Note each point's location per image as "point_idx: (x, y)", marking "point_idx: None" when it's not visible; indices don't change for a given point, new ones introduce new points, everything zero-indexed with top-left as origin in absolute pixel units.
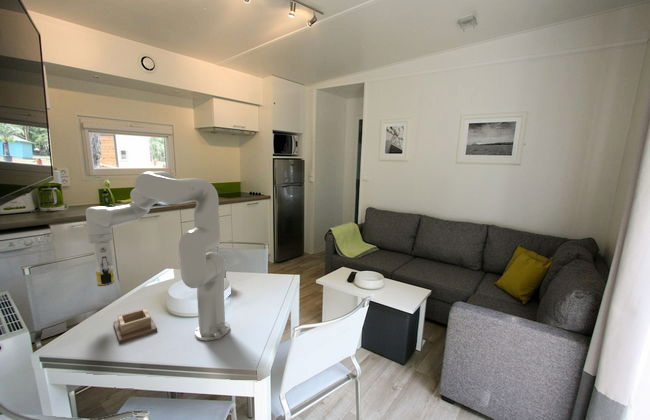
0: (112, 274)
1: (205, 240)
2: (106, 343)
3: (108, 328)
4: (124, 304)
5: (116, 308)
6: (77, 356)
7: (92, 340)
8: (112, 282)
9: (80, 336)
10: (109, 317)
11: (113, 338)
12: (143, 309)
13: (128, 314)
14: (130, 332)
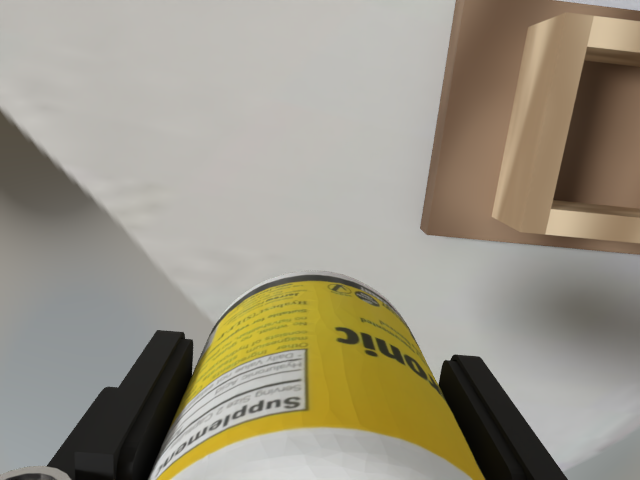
0: (410, 373)
1: None
2: (617, 303)
3: (438, 260)
4: (98, 84)
5: (139, 152)
6: (622, 422)
7: (516, 351)
8: (395, 313)
9: None
10: (271, 224)
11: (594, 264)
12: (579, 36)
13: (560, 161)
14: None
